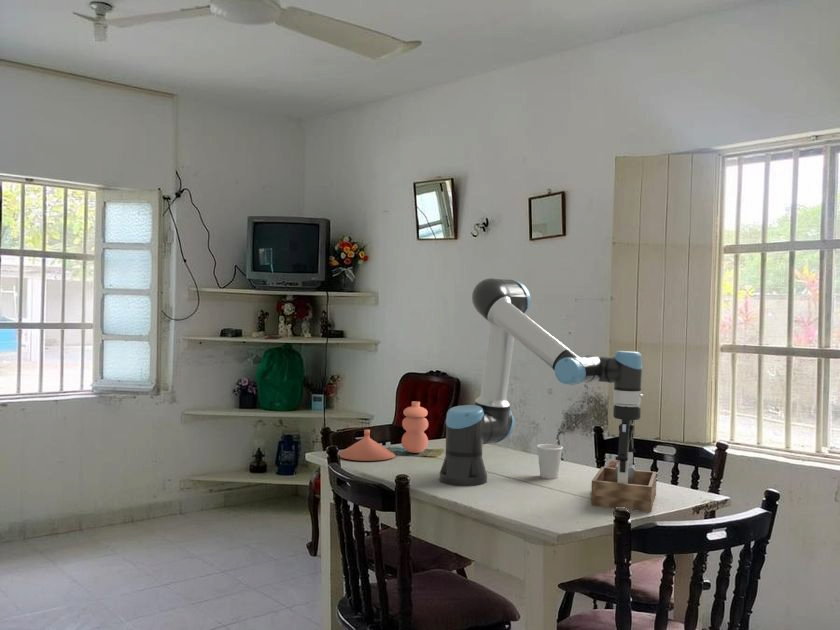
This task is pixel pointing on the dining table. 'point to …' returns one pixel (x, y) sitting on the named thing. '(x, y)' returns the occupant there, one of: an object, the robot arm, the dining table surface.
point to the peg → (630, 474)
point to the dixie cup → (549, 460)
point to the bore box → (624, 490)
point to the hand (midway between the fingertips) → (625, 478)
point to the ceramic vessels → (411, 439)
